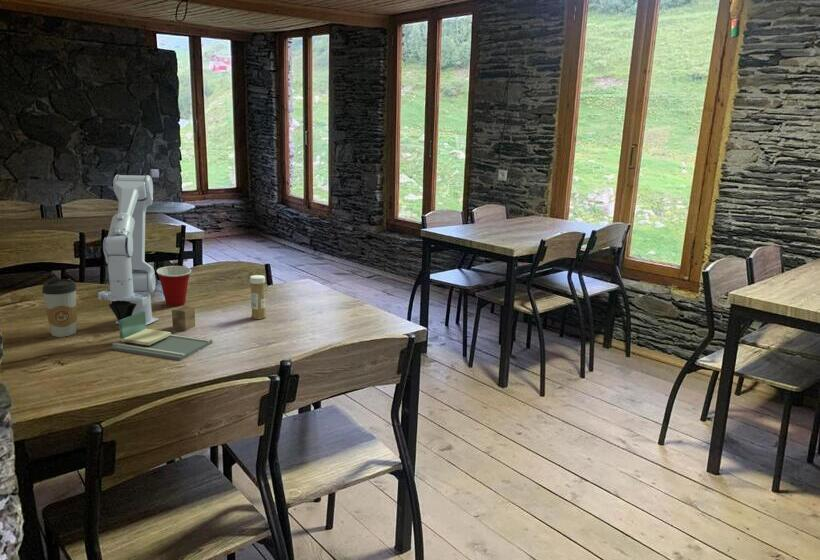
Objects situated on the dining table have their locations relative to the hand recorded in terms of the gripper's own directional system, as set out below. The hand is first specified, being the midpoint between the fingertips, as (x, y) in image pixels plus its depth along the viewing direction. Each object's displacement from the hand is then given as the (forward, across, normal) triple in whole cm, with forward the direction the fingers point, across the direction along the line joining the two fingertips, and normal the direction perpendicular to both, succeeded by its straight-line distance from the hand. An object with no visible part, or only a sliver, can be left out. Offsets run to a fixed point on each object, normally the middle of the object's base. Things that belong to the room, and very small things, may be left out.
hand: (125, 326), depth 167 cm
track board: (+4, +12, 0) cm, 12 cm away
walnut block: (+4, +8, +15) cm, 17 cm away
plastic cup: (+4, -9, +34) cm, 36 cm away
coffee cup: (+4, -19, -2) cm, 20 cm away
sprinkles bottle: (+4, +23, +32) cm, 40 cm away
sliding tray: (+4, +7, 0) cm, 8 cm away
